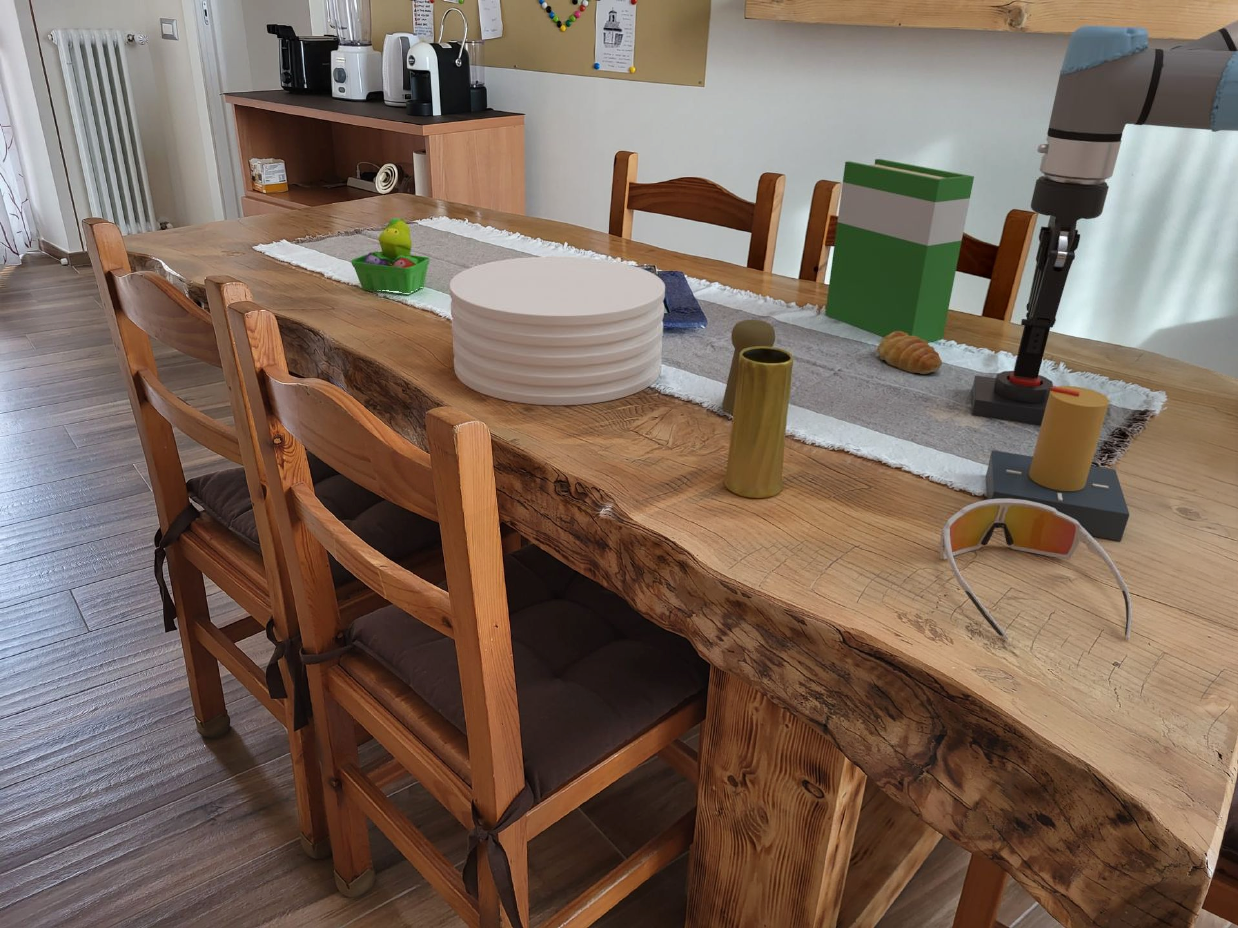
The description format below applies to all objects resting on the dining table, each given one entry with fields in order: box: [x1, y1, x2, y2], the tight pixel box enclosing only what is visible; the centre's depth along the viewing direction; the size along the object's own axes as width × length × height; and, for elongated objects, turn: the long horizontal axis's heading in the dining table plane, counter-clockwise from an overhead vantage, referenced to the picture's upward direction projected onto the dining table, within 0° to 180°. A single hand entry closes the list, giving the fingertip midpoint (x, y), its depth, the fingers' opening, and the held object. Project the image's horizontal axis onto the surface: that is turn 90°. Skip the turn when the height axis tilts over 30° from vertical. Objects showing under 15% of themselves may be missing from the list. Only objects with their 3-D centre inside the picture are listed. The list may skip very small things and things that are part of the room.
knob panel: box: [985, 449, 1130, 542], centre depth 92 cm, size 12×10×3 cm
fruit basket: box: [350, 217, 431, 296], centre depth 153 cm, size 11×9×11 cm
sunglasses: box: [939, 499, 1133, 641], centre depth 78 cm, size 14×15×5 cm
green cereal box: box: [824, 158, 975, 344], centre depth 139 cm, size 18×7×24 cm, turn 33°
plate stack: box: [449, 256, 666, 406], centre depth 122 cm, size 28×28×12 cm
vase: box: [723, 346, 795, 499], centre depth 91 cm, size 6×6×14 cm
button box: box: [971, 370, 1057, 427], centre depth 114 cm, size 11×9×4 cm
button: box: [1009, 373, 1041, 386], centre depth 113 cm, size 4×4×2 cm
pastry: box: [876, 331, 943, 375], centre depth 128 cm, size 9×7×4 cm
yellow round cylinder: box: [1029, 385, 1110, 492], centre depth 89 cm, size 5×5×9 cm
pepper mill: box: [721, 319, 776, 416], centre depth 111 cm, size 6×6×11 cm
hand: (1025, 374), depth 113 cm, fingers closed
